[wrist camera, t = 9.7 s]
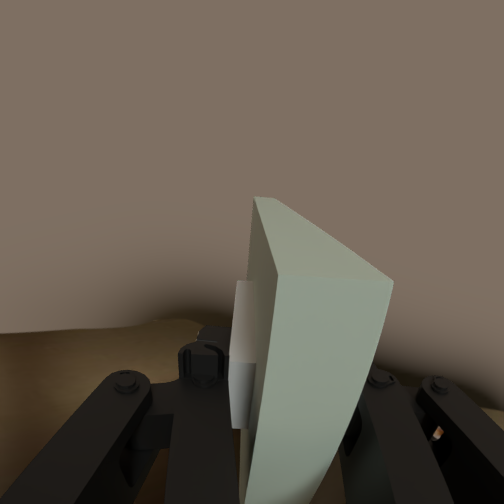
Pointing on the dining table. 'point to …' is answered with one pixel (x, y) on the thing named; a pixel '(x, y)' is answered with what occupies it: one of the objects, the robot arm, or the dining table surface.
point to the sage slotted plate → (304, 351)
